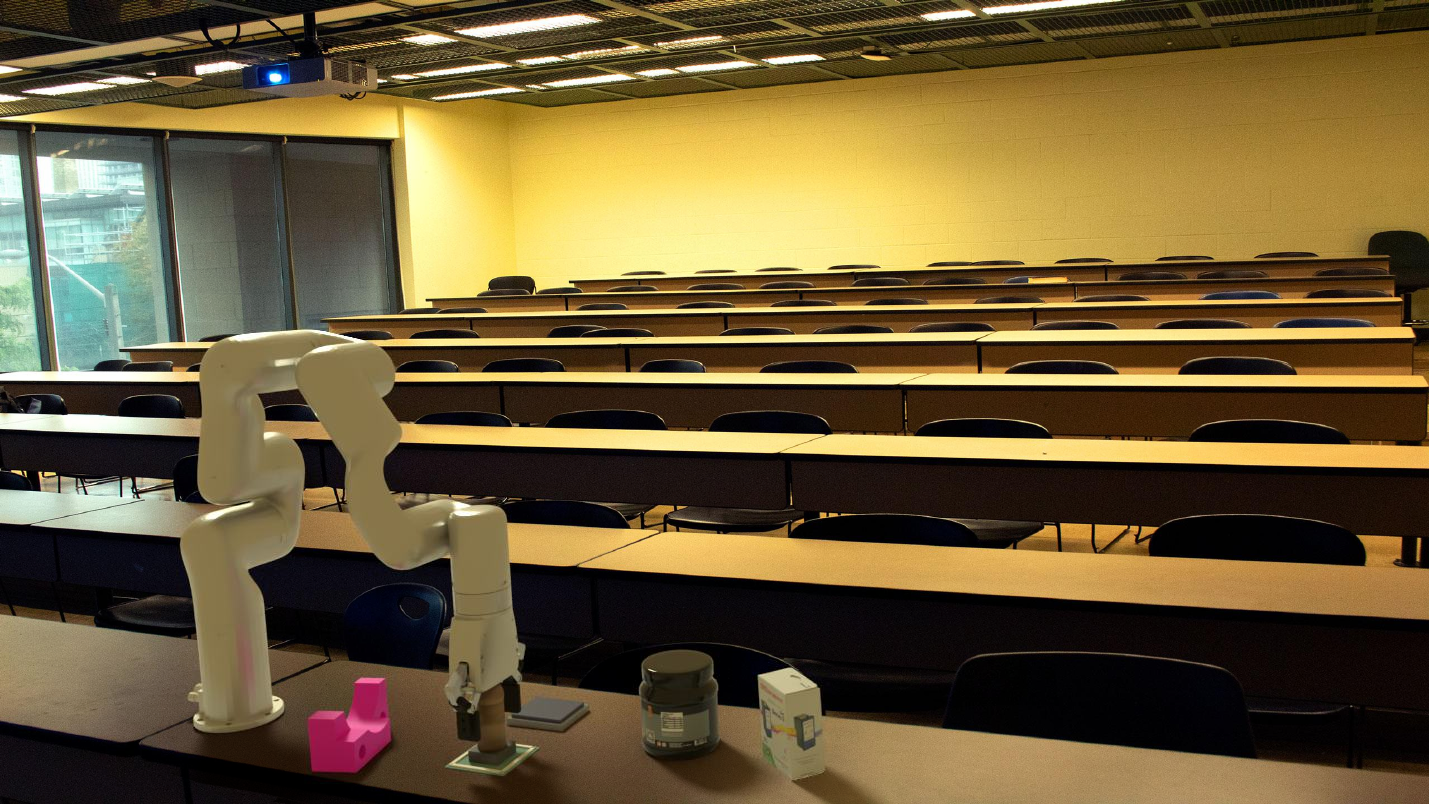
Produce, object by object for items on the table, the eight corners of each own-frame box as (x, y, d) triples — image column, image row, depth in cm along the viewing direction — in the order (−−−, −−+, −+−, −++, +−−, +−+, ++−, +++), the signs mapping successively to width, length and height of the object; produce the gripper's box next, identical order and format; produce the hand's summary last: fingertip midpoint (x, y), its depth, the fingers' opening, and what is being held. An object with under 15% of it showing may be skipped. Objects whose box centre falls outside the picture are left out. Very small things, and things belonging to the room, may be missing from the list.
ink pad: (507, 724, 162) (506, 714, 161) (536, 704, 169) (535, 694, 169) (561, 732, 158) (561, 721, 158) (589, 710, 166) (588, 701, 165)
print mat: (444, 768, 148) (444, 765, 148) (483, 741, 156) (483, 738, 156) (503, 777, 144) (503, 774, 144) (539, 749, 153) (539, 745, 153)
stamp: (468, 761, 149) (463, 685, 148) (487, 747, 153) (482, 673, 152) (497, 766, 147) (492, 688, 146) (516, 752, 151) (511, 676, 150)
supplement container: (698, 725, 159) (694, 643, 157) (734, 752, 149) (730, 664, 148) (629, 742, 154) (625, 657, 153) (662, 771, 145) (658, 680, 143)
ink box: (826, 777, 141) (823, 686, 140) (789, 786, 139) (786, 693, 138) (794, 751, 149) (791, 665, 148) (759, 759, 147) (756, 672, 146)
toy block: (356, 774, 148) (352, 719, 147) (312, 773, 149) (307, 718, 148) (405, 728, 162) (401, 678, 162) (364, 727, 163) (361, 677, 163)
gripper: (494, 580, 157) (502, 698, 159) (418, 617, 141) (427, 748, 143) (541, 584, 154) (548, 704, 156) (468, 622, 138) (477, 755, 140)
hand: (490, 725), depth 150 cm, fingers open, 9 cm apart
